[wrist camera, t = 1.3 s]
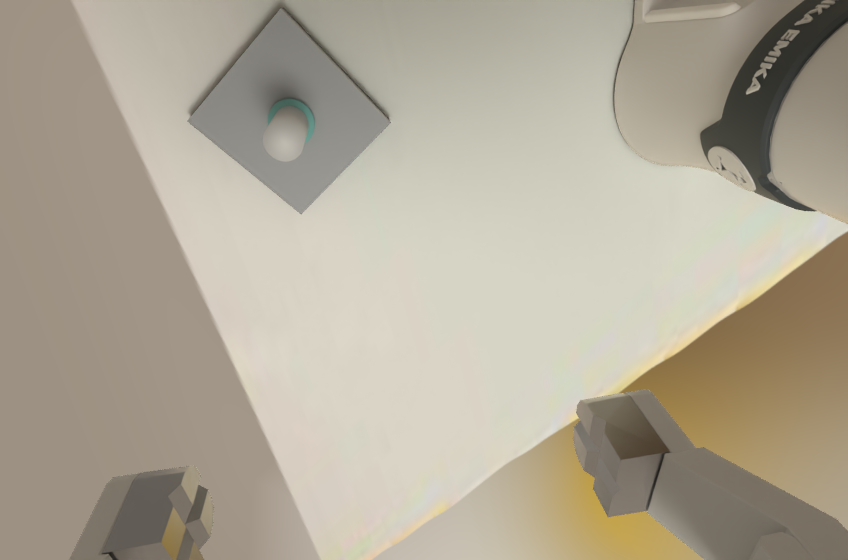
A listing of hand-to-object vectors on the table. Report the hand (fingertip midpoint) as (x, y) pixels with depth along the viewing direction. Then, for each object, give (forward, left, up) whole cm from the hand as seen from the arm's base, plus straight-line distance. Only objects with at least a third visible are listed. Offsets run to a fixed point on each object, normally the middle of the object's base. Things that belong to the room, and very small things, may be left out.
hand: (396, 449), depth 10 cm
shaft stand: (+3, -4, -30) cm, 30 cm away
